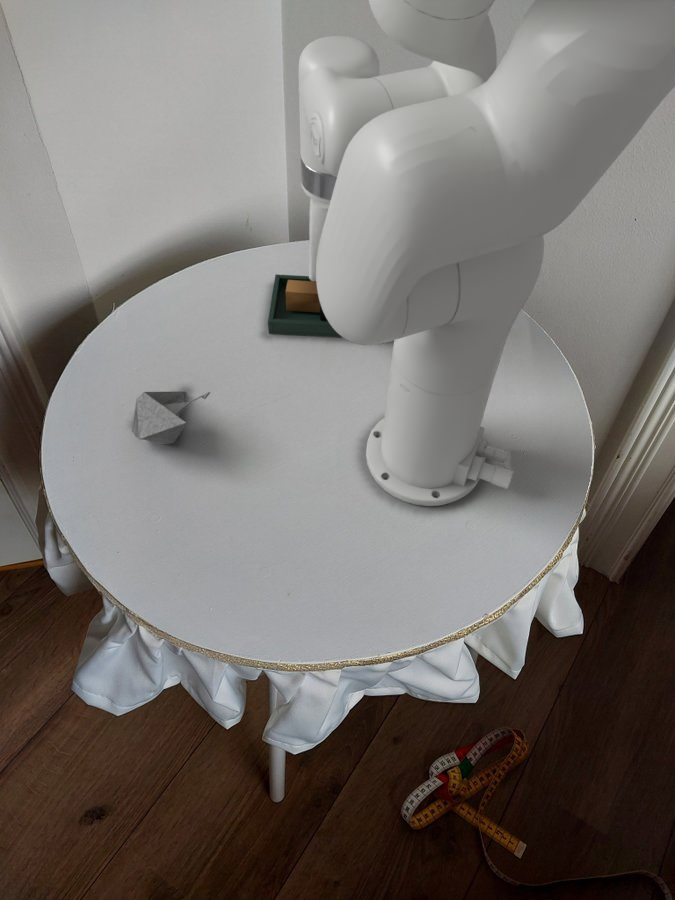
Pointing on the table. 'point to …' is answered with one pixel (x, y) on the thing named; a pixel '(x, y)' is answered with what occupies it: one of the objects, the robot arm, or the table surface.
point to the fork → (302, 296)
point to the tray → (294, 314)
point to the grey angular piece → (160, 416)
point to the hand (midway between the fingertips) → (334, 304)
